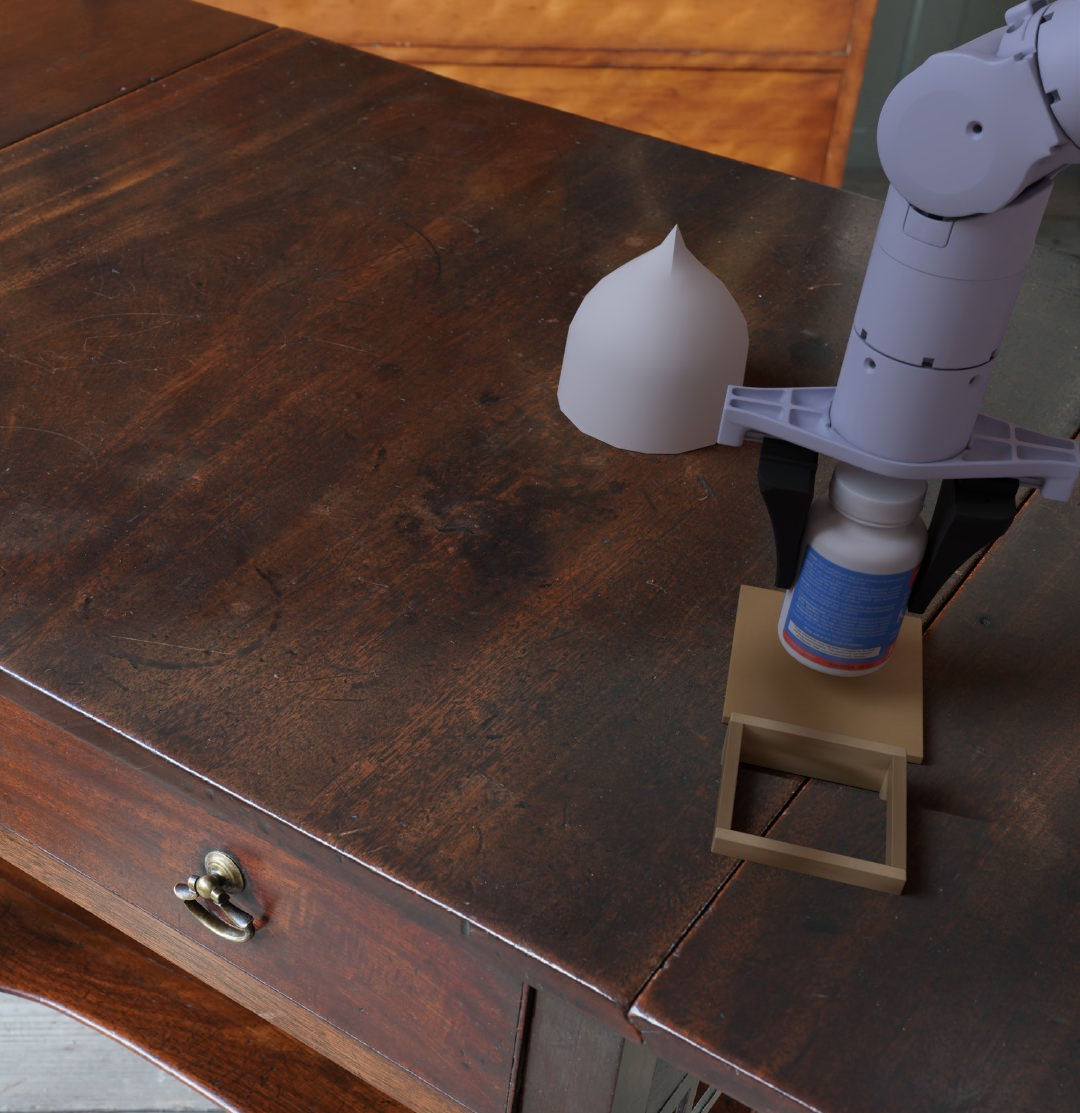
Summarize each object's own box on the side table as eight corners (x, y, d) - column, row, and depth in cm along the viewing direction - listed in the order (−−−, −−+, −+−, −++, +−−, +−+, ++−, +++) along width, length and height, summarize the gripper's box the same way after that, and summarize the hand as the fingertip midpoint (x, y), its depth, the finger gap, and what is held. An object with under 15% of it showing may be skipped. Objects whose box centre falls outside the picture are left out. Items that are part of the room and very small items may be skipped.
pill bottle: (905, 682, 68) (963, 516, 62) (789, 680, 68) (835, 514, 62) (874, 605, 72) (925, 442, 66) (765, 603, 72) (806, 440, 66)
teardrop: (647, 476, 84) (679, 290, 77) (520, 390, 91) (537, 212, 83) (777, 414, 89) (819, 234, 82) (647, 337, 96) (674, 165, 88)
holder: (893, 785, 66) (907, 747, 64) (891, 918, 60) (906, 880, 59) (722, 749, 68) (731, 710, 66) (704, 875, 62) (714, 836, 60)
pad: (919, 625, 74) (922, 618, 74) (920, 765, 67) (923, 757, 67) (739, 591, 76) (741, 583, 76) (721, 722, 69) (723, 715, 69)
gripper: (1107, 313, 61) (1010, 564, 69) (752, 263, 64) (701, 509, 73) (1125, 402, 56) (1018, 662, 64) (738, 343, 59) (685, 598, 67)
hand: (849, 587), depth 68 cm, fingers closed on pill bottle, 5 cm apart
